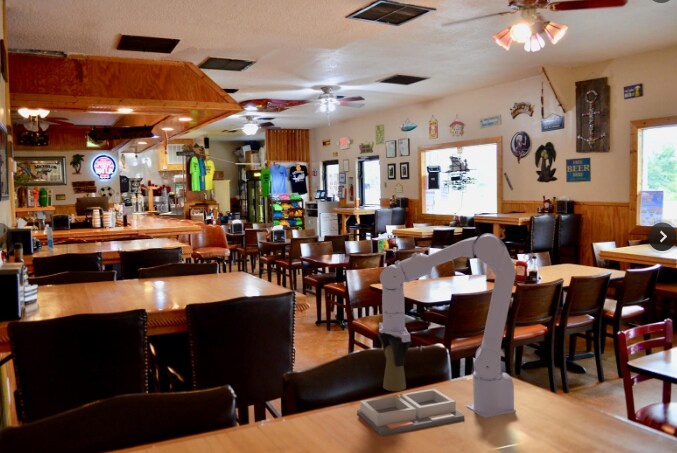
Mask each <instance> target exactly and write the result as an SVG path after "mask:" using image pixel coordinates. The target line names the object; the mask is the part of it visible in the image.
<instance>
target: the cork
mask: <svg viewBox="0 0 677 453" xmlns="http://www.w3.org/2000/svg"><path fill="white" fill-rule="evenodd" d="M385 356H386V358H387V360H385V369H384V377H383V385H382V388H383V389H385V390H386V391H391V392H402V391H404V390H406V388H407V384H406V377H405V375H406V374H405V370H404V369H405V368H404V366H399V367H396V366H395V362H394V355H393V350H392V347H391V345H389V346H387V347H386V349H385V354H384V357H385ZM386 358H385V359H386Z"/></svg>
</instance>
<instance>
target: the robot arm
mask: <svg viewBox="0 0 677 453" xmlns="http://www.w3.org/2000/svg"><path fill="white" fill-rule="evenodd" d="M461 257H464V258H469V259H474V258H475V257H477V259H478V260H479V261H481V262H483V263H484V264H486V266H488V267H489V269H490V270H491V271H492V273H493V274H494V275H495V279H494V283H493V288H492V291H491V298H490V303H489V309H488V313H487V316H486V317H487V318H486V322H485V328H484V333H483V336H482V341H481V345H480V346H479V347H478V348H477V349H476V351H475V360H474V362H473V369H474V371H473V372H472V374H473V375H472V378H473V379H472V381H473V382H472V386H473V387H472V388H473V390H472V391H473V394H472V395H473V403H470V404H467V405H466V408H468V409H469V410H471V411H472V412H474V413H476V414H477V415H478V416H481V417H482V418H485V419H487V418H491V417H496V416H497V417H498V416H501V415H502V416H503V415H507V414H512V413H516V412H517V409H515V387H514V382H513V379H512V377H511V376H510V374H508V373H507V372H503V371H502V365H501V360H502V355H501V349H502V343H503V342H502V341H503V336H504V332H505V327H506V323H507V318H508V312H509V308H510V302H511V298H512V294H513V288H514V283H515V279H516V273H517V270H516V267H515V264H514V262H513V260H512V258H511V255H510V253H509V251H508V248H507V246H506V244H504V242H503V241H502V240H501V238H499V237H498V236H497V235H495V234H493V233H488V232H487V233H483V234H481V235H480V236H474V237H469V238H466V239H463V240H460V241H458V242H456V243H454V244H451V245H449V246H447V247H444V248H443V249H440V250H438V251H436V252H433V253H431V254H429V255H427V254H425V253H422V252H420V253H418V252H414V253H412V254H411V257H408V258H406V259H403V260H401V261H400V260H396V261H395V262H394V264H391V265H389V266H386V267H385V268H383V270H382V271H381V272H380V274H379V281H380V283H381V286H382V288H381V290H382V294H381V296H382V297H381V303H382V304H381V305H382V322H379V323H378V327H379V329H378V332H379V333H377V338H378V340H379V341H380V344H381V346H382V350H383V355H384V358H385V361H387V358H386V356H385V349H386V347H387V346H389V345H391V347H392V350H393V355H394V362H395V366H396V367H399V366H403V367H404V366H405V361H406V357H407V353H408V351H409V348H410V347H411V344H412V342H413V341H412V339H411V334H410V332H408V330H407V327H406V317H405V316H406V314H405V313H406V312H405V310H406V309H405V292H404V283H410V282H413V281H415V280H417V279H420V278H423V277H425V276H427V275H430V274H431V272H432V270H433V268H434V267H436V266H439V265H442V264H445V263H448V262H450V261H452V260H455V259H458V258H461Z"/></svg>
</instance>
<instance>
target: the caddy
mask: <svg viewBox="0 0 677 453" xmlns="http://www.w3.org/2000/svg"><path fill="white" fill-rule="evenodd" d="M359 402H360V404H359V406H360V409H357V410H356V414H357V413H358V414H359V415H358V414H357V415H358V416H359V417H360V418H361V419H363V421H365V422H366V423H367V424H368V425H369V426H370V427H371V428H372V429H373V430H374V431H375V432H376V433H377V434H379V435H380V436H381V437H382V436H387V435H393V434H398V433H402V432H403V433H404V432H408V431H414V430H419V429H425V428H429V427H434V426H438V425H444V424H449V423H455V422H460V421H464V420H465V415H464V414H462V412H460V411H458V410H457V409H456V408H457V404H456V400H454V399H452V398H451V397H449V396H447V395H446V394H444V393H442V392H441V391H439V390H438V389H436V388H429V389H424V390H418V391H412V392H406V393H400V394H399V395H398V394H394V395H387V396H382V397H377V398H372V399H371V398H370V399H365V400H359Z"/></svg>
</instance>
